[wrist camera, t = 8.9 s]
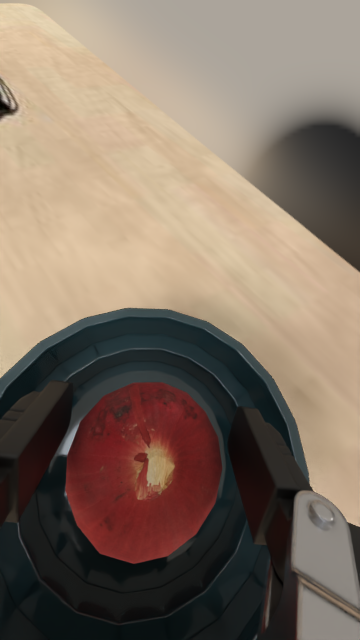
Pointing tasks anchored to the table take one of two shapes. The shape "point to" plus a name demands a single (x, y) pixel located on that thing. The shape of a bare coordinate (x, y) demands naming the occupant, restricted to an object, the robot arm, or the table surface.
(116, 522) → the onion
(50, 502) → the bowl
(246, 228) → the table surface
